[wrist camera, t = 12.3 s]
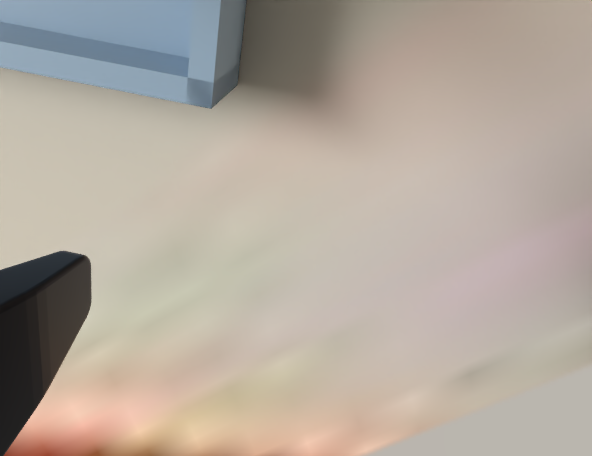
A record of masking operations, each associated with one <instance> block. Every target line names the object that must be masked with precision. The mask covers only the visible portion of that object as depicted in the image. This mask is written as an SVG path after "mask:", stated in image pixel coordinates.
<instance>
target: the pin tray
mask: <svg viewBox="0 0 592 456" xmlns="http://www.w3.org/2000/svg"><path fill="white" fill-rule="evenodd" d="M246 1H247V0H0V67H2V68H7V69H12V70H17V71H22V72H27V73H32V74H37V75H42V76H48V77H53V78H58V79H63V80H68V81H73V82H78V83H83V84H88V85H93V86H98V87H104V88H109V89H114V90H119V91H124V92H129V93H134V94H139V95H144V96H149V97H155V98H160V99H165V100H170V101H175V102H180V103H185V104H190V105H195V106H200V107H205V108H212V107H214V106H215V105H216V104H217V103H218V102H219V101H220V100H221V99H222V98H223V97H225V96H226V95H227V94H228V93H229V92H230V91H231V90H232V89H233V88H235V87H236V86H237V83H238V74H239V65H240V56H241V47H242V38H243V29H244V20H245V11H246Z"/></svg>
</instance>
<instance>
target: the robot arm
mask: <svg viewBox="0 0 592 456" xmlns="http://www.w3.org/2000/svg"><path fill="white" fill-rule="evenodd" d="M90 306H91V263H90V260H89V258H88V257H87V256H85V255H82V254H77V253H72V252H68V251H59V252H56V253H53V254H49V255H46V256H43V257H40V258H37V259H34V260H31V261H27V262H24V263H21V264H18V265H15V266H12V267H8V268H5V269H2V270H0V456H4V454H5V453H6V451H7V450H8V448H9V447H10V446H11V444H12V443H13V441H14V440H15V438H16V437H17V435H18V434H19V432H20V431H21V430H22V428H23V427H24V425H25V424H26V422H27V421H28V419H29V418H30V416H31V415H32V414H33V412H34V411H35V409H36V408H37V406H38V405H39V403H40V401H41V400H42V398H43V397H44V395H45V393H46V392H47V390H48V388H49V386H50V385H51V383H52V381H53V379H54V377H55V375H56V373H57V372H58V370H59V368H60V366H61V364H62V362H63V360H64V358H65V357H66V355H67V353H68V351H69V349H70V347H71V345H72V343H73V342H74V340H75V338H76V336H77V334H78V332H79V330H80V328H81V327H82V325H83V323H84V321H85V319H86V317H87V315H88V313H89V310H90Z"/></svg>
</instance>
